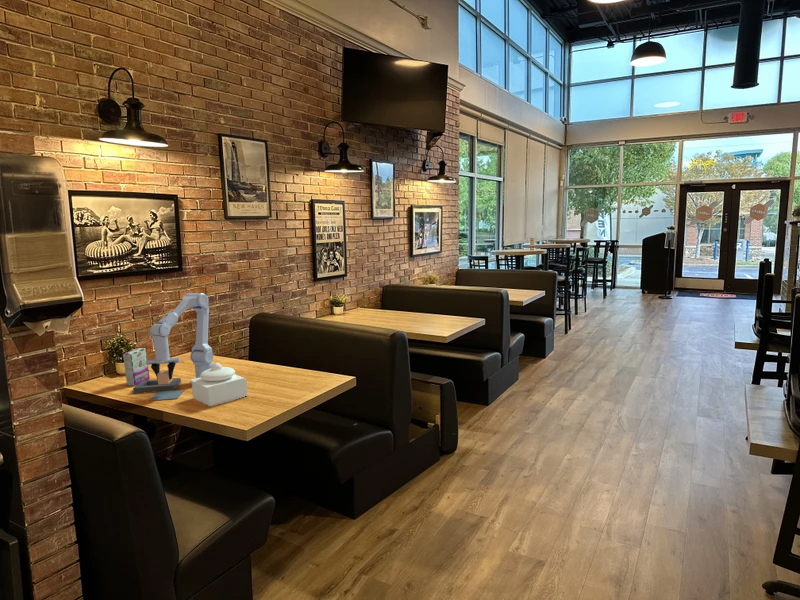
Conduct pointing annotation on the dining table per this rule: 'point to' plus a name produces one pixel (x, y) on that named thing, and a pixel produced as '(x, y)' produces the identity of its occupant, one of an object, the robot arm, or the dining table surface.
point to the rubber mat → (166, 395)
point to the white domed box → (218, 386)
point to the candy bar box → (136, 366)
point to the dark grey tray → (156, 386)
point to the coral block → (163, 377)
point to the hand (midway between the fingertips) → (165, 379)
